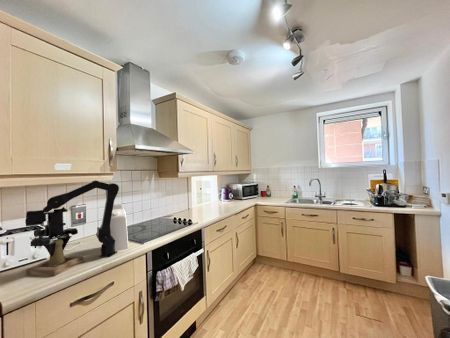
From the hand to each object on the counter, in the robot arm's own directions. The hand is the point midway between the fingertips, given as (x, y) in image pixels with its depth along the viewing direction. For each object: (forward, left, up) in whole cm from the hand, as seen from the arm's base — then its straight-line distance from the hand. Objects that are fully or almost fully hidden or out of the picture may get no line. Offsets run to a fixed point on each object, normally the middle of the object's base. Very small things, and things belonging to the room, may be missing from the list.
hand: (56, 254), depth 97 cm
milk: (-27, +12, -7) cm, 30 cm away
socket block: (0, 0, -6) cm, 6 cm away
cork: (0, 0, -4) cm, 4 cm away
